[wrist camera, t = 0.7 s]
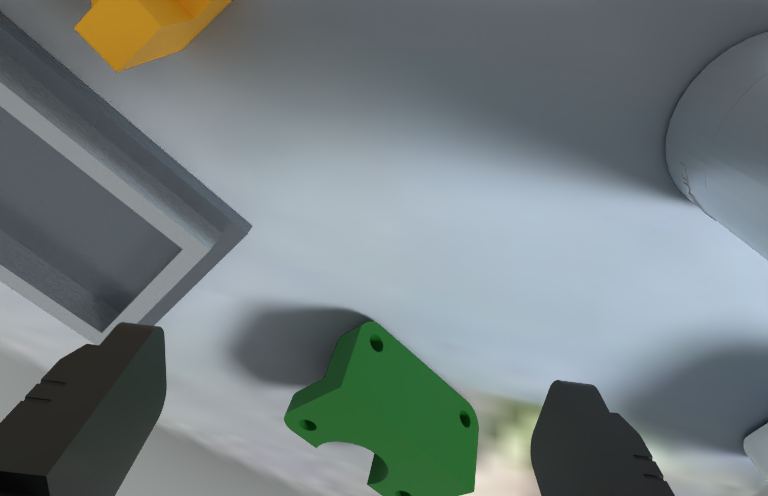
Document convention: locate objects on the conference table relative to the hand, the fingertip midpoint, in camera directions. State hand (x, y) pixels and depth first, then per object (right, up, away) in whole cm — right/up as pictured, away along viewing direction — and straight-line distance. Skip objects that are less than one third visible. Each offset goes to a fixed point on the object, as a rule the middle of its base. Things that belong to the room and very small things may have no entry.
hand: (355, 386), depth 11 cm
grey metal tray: (-18, +7, +17) cm, 26 cm away
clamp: (+1, -7, +24) cm, 25 cm away
